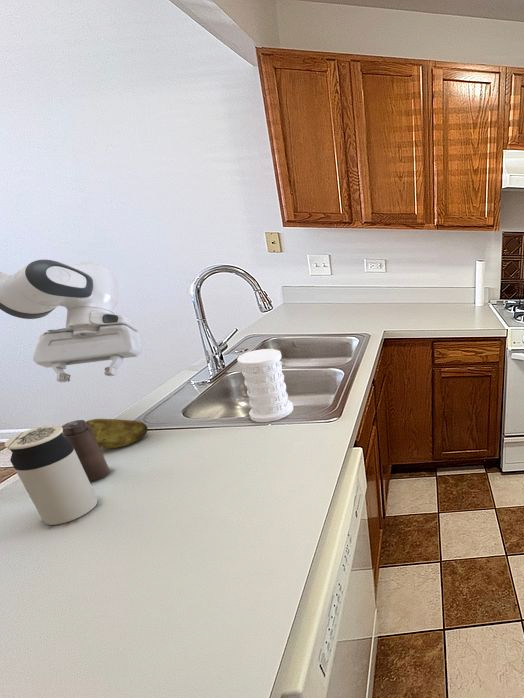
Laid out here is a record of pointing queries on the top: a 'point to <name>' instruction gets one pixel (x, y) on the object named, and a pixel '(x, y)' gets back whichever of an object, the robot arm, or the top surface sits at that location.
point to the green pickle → (117, 432)
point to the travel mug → (52, 474)
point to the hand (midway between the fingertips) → (87, 378)
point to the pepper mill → (86, 449)
